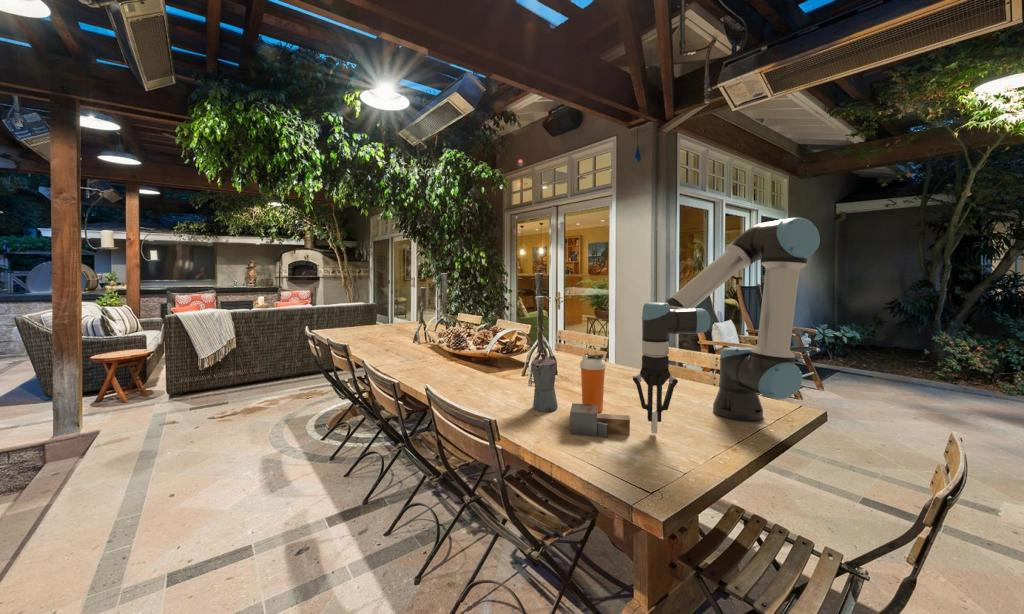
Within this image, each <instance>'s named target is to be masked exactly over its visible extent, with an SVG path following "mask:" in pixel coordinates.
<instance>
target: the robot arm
mask: <svg viewBox="0 0 1024 614" xmlns="http://www.w3.org/2000/svg"><path fill="white" fill-rule="evenodd" d="M820 240H821V237H820V233H819V230H818V228H817V227H816V226H815V225H814V223H813V222H812V221H811V220H809V219H807V218H804V217H786V218H783V219H778V220H773V221H765V222H759V223H758V224H755V225H752V226H751V227H749V228H748V229H746V230H745V231H744V232H743V233H740V234H739V235H738V236H737V237H736V238H735V239H733V240H732V241H731V242H730V243H729V244H727V245H726V246H725V248H724V251H723V252H722V253H721V254H720V255H719V256H718V257H717V258H715V259H714V260H713V261H712V262H711V263H710V264H709V265H707V266H706V267H704V269H703V270H701V271H700V272H698V273H697V274H696V275H695V276H694V277H693V278H692V279H691V280H689V281H688V282H687V283H686V284H685V285H683V286H682V287H681V288H680V289H679V290H678V291H677V292H675V293H674V294H673V295H672V296H671V297H669V298H668V299H667V300H666V301H665V302H663V301H662V302H661V301H660V302H654V301H653V302H646V303H644V304H643V307H642V311H641V312H642V313H641V315H642V316H641V320H642V321H641V322H642V329H641V330H642V331H641V332H642V333H641V334H642V337H641V353H642V355H641V369H640V371H639V374H637V375H633V376H632V380H633V382H634V384H635V385H636V388H637V393H638V396H639V400H640V404H641V409H643V410H646V412H647V417H646V418H647V421H648V422H650V432H651V433H652V434H658V423H661V422H662V412H663V411H668V410H669V407H670V404H671V400H672V396H673V393H674V390H675V387H676V385H677V384H678V383H679V380H678V379H677V377H674V376H672V375H671V373H670V369H669V366H670V365H669V364H670V363H669V361H670V359H669V356H668V355H669V354H670V335H683V334H684V335H688V334H694V335H696V334H703V333H706V332H707V331H708V330H709V328H710V325H711V317H710V314H709V312H708V311H707V310H706V309H705V308H701V307H699V308H698V306H699V304H701V303H702V302H703V301H704V300H706V299H707V298H708V297H709V296H710V295H712V293H714V292H715V291H716V290H718V289H719V288H720V287H721V286H723V284H725V283H726V282H727V281H728V280H729V279H730V278H732V277H733V276H734V275H736V273H738V272H739V271H740V270H741V269H747V268H749V267H750V266H751V265H752V264H754V263H755V262H758V261H760V264H761V265H762V266H763V268H764V269H765V274H764V281H763V282H764V283H763V290H762V291H763V292H762V299H761V309H760V315H759V317H760V318H759V323H758V324H759V326H758V332H757V333H758V334H757V335H758V336H757V342H756V345H755V346H754V347H739V346H738V347H735V346H734V347H724V348H722V349H721V350H720V357H719V361H720V362H719V388H718V391H717V394H716V396H715V399H714V400H713V405H712V411H713V413H715V414H716V415H718V416H720V417H723V418H727V419H729V420H730V419H731V420H735V421H743V422H755V421H761V420H763V418H764V410H763V406H762V403H761V400H760V397H759V394H760V395H762V396H763V397H766V398H771V399H773V400H786V399H788V398H790V397H792V396H793V395H795V394H796V393H797V392H798V391H799V390H800V387H801V385H802V383H803V373H802V370H800V367H799V366H798V365H796V364H795V362H796V361H795V360H796V355H795V354H794V352H792V350H791V343H792V335H793V327H794V326H793V325H794V319H795V311H796V303H797V293H798V287H799V279H800V271H801V269H803V268H804V267H806V266H807V263H808V257H810V256H812V255H814V253H815V252H816V251H817V250H818V248H819V246H820V242H821V241H820ZM642 379H643V382H644V383H646V385H647V403H646V401H645V397H644V393H643V388H642V385H641V382H642ZM666 382H668V385H667V388H666V392H665V393H666V394H665V396H664V400H663V385H664V384H665V383H666ZM654 386H656V401H655V402H656V404H655V405H656V408H653V402H654V401H653V396H654V394H653V393H654Z"/></svg>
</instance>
